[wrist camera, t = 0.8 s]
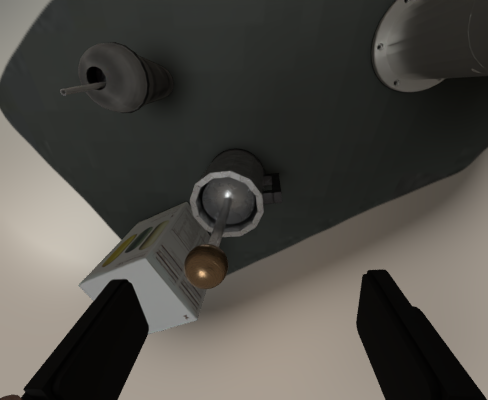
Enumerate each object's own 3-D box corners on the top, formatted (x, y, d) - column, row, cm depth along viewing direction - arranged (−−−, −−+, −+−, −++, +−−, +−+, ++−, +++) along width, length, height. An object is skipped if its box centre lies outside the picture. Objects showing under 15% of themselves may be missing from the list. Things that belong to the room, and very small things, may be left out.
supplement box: (187, 199, 46) (146, 257, 30) (220, 249, 51) (199, 321, 35) (135, 222, 49) (74, 285, 34) (170, 267, 54) (131, 341, 38)
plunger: (251, 171, 32) (239, 242, 17) (257, 219, 35) (251, 313, 21) (198, 177, 33) (144, 247, 18) (208, 222, 36) (169, 314, 22)
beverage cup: (182, 58, 35) (95, 28, 17) (182, 109, 39) (108, 127, 21) (135, 52, 36) (2, 15, 18) (139, 103, 39) (29, 116, 21)
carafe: (276, 144, 40) (279, 164, 29) (279, 198, 44) (284, 234, 33) (203, 151, 41) (181, 174, 31) (214, 204, 46) (198, 239, 35)
